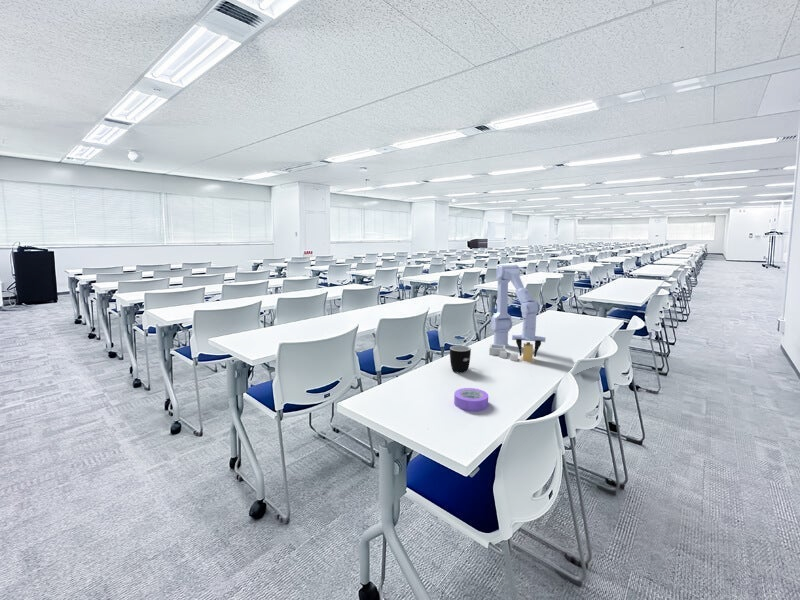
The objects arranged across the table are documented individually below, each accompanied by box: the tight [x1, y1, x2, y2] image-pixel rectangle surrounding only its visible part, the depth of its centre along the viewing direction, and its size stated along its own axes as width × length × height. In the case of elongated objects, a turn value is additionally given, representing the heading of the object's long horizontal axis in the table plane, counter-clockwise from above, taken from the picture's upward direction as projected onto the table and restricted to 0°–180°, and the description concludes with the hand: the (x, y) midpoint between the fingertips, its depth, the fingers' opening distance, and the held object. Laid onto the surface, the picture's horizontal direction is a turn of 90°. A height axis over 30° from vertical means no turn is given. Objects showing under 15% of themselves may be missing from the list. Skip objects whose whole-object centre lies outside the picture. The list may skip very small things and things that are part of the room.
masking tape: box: [453, 387, 489, 412], centre depth 133 cm, size 12×12×4 cm
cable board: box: [488, 343, 535, 363], centre depth 181 cm, size 16×22×4 cm
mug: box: [449, 344, 472, 374], centre depth 166 cm, size 12×9×10 cm
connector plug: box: [522, 341, 534, 362], centre depth 176 cm, size 4×4×8 cm
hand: (527, 355), depth 177 cm, fingers open, 6 cm apart
